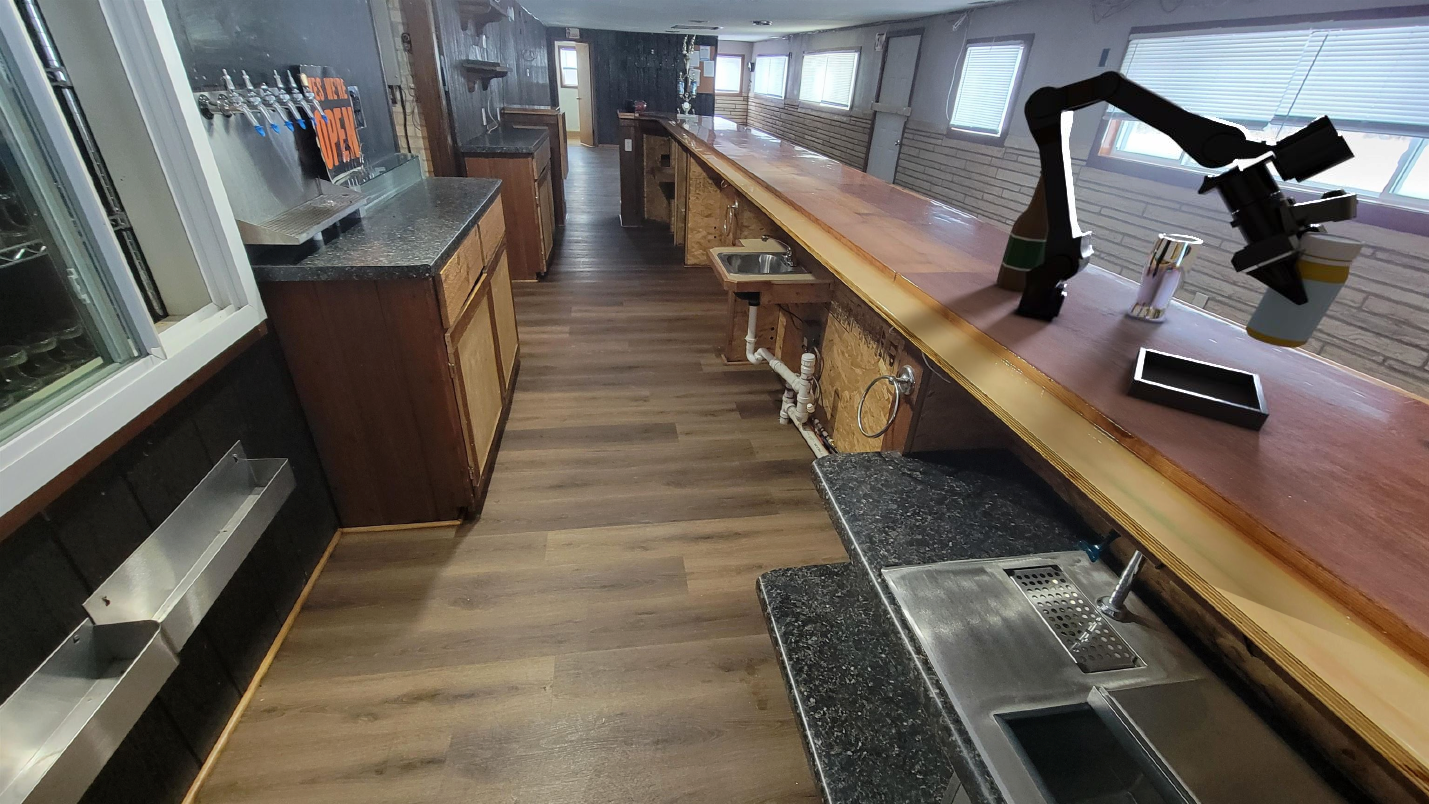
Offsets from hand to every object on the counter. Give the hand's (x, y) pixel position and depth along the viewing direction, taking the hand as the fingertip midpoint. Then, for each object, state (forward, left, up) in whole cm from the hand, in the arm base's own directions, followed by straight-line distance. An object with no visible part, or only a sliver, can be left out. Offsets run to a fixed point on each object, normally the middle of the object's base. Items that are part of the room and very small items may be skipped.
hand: (1310, 300), depth 79 cm
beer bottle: (-40, +23, -13) cm, 48 cm away
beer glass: (-16, +21, -13) cm, 29 cm away
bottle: (-1, 0, -7) cm, 7 cm away
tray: (-9, -13, -13) cm, 20 cm away
